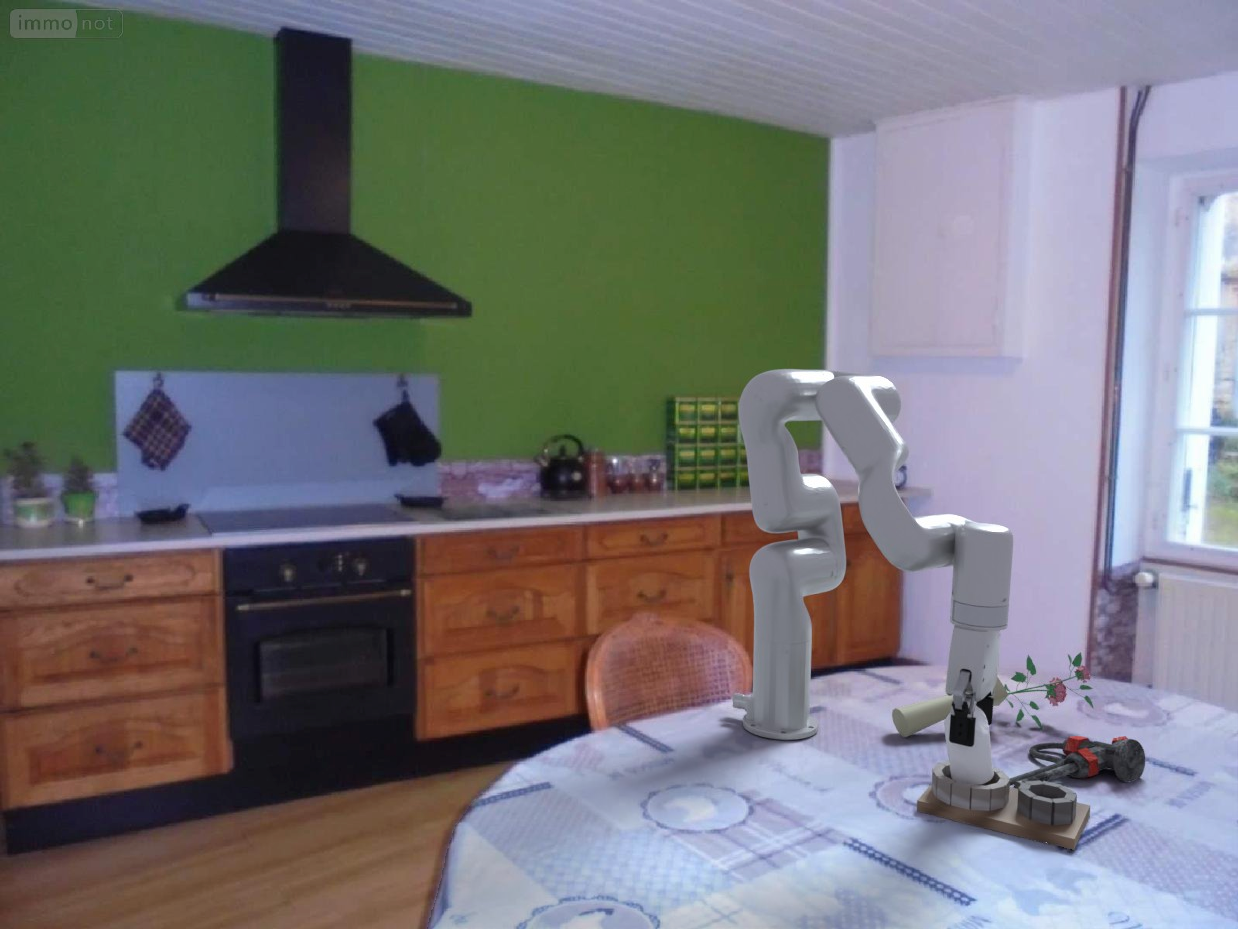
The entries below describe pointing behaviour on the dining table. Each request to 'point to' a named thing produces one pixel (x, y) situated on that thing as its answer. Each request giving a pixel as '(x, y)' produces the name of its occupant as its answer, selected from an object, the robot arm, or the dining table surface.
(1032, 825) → the fitting board
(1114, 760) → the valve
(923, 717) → the flower vase
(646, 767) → the dining table surface
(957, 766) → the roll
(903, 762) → the dining table surface
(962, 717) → the robot arm
